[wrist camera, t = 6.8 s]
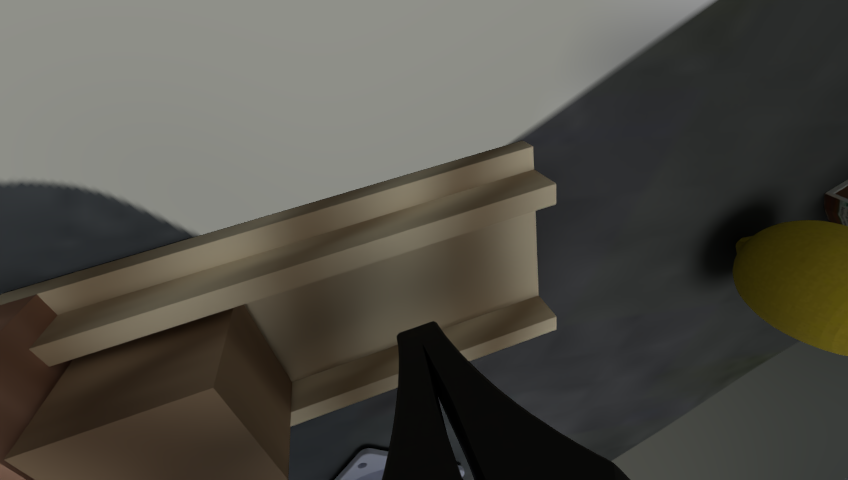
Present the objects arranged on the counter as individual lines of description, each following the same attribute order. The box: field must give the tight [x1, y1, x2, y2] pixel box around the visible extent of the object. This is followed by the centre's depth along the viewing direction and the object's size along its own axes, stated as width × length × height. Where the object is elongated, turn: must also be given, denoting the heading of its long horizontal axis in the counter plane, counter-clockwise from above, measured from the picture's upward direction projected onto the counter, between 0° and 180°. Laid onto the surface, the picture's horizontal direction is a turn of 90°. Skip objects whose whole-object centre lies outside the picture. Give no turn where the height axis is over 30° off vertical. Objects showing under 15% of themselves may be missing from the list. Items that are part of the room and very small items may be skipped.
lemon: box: [733, 220, 848, 356], centre depth 18 cm, size 6×6×8 cm
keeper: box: [4, 304, 292, 480], centre depth 12 cm, size 5×5×4 cm
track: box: [0, 141, 556, 480], centre depth 13 cm, size 18×9×5 cm, turn 101°
